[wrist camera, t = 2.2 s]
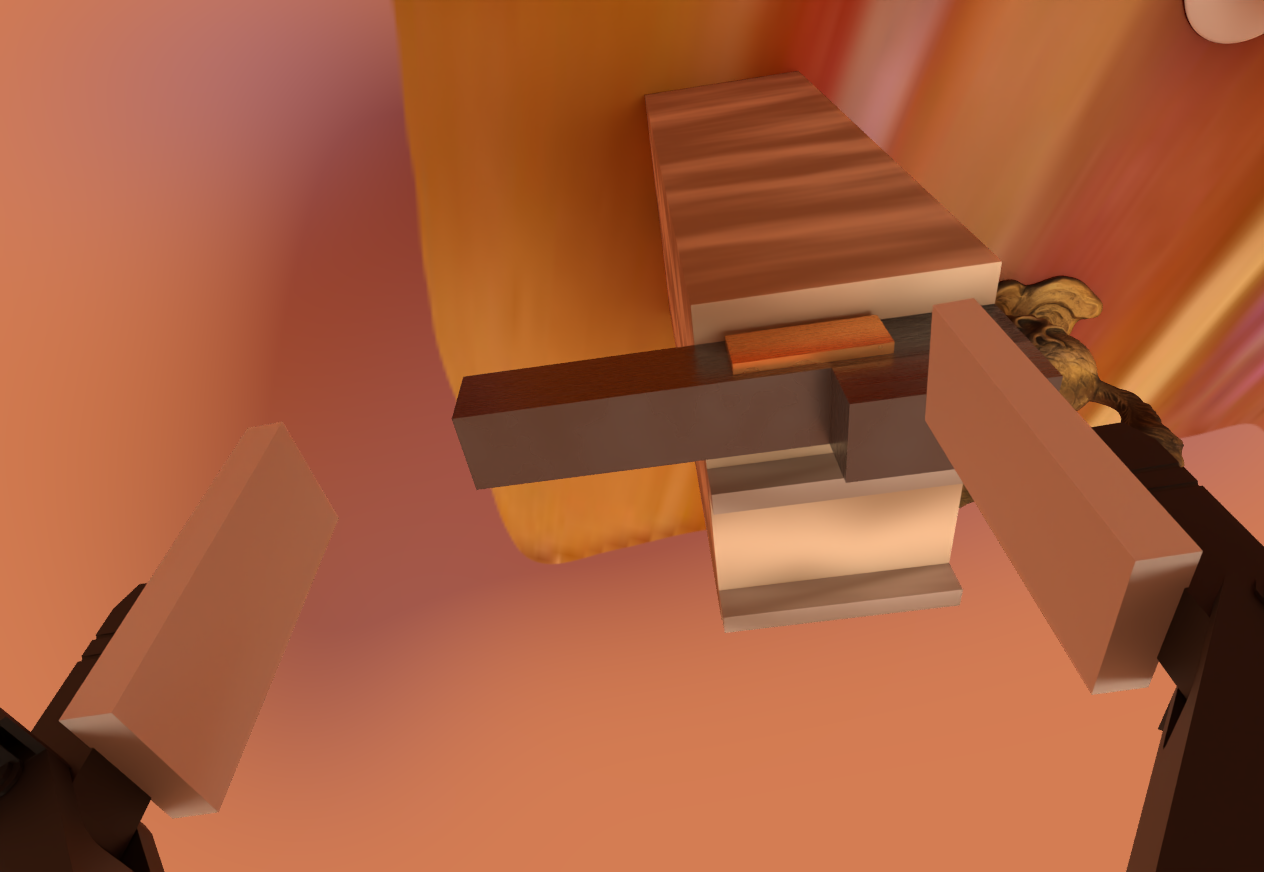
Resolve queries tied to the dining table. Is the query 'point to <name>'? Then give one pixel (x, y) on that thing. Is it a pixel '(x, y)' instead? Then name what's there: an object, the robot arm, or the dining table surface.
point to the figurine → (1074, 352)
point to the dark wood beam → (719, 404)
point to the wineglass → (1226, 19)
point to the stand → (798, 295)
